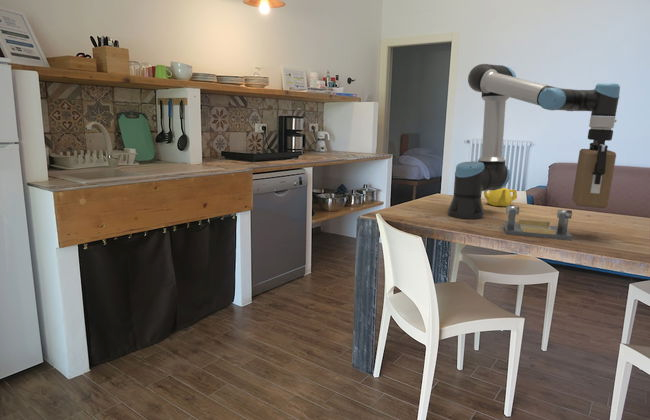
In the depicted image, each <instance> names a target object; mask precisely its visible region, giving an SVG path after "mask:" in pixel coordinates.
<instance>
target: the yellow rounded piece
mask: <svg viewBox="0 0 650 420" xmlns="http://www.w3.org/2000/svg"><path fill="white" fill-rule="evenodd" d="M511 193H512V194H511ZM483 196H484V198H485V199H486V201H487V204H489V206H493V207H506V206H507V205H509V206H511V205H512V202H513V201H515V200H516V199H518V195H517V189H516V188H514V189H509V188H507V187H503V188H501V189H497V190H489V192H488V190H486V191H483Z"/></svg>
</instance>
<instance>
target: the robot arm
mask: <svg viewBox="0 0 650 420" xmlns="http://www.w3.org/2000/svg"><path fill="white" fill-rule="evenodd" d="M467 83H468V85H469V87H470V89H471V90H473V91H475V92H478V93H481V99H482V100H483V102H484V109H483V110H484V112H483V128H482V131H483V132H482V145H481V156H480V157H479V158H478V159H477V161H476V160H475V161H472V160H471V161H463V162H460V163H458V164H456V165H455V166H456V167H455V172H454V183H453V196H452V200H451V202H450V204H449V206H448V208H447V215H448V216H451V217H454V218H457V219H466V220H475V219H476V220H479V219H483V218H484V216H485V209H484V208H483V207H484V206H483V203H482V192H484V191H486V190H487V191H490V190H497V189H501V188H505V187H506V186H507V184H508V183H509V181H510V179H511V172H510V169H509V168H508V166H507V165H506V159H505V158H504V157H503V149H504V147H503V146H504V134H505V133H504V131H505V119H506V117H505V115H506V114H505V113H506V104H507V103H506V102H507V101H508V99H510V98H511V99H515V100H519V101H522V102H524V103H525V102H526V103H528V104H533V105H536V106H539V107H541V108H542V109H544V110H547V111H565V112H591V114H590V119H589V125H588V127H589V129H588V132H587V140H590V141H591V140H592V142H589V148H588V149H591V150H594V151H598V155H597V163H595V169H594V172H593V173H592V175H593V179H592V185H591V191H590V193H598V194H599V193H600V187H601V181H602V175H603V174H605V165H606V153H607V150H608V147H609V146H608V145H607V144H606V142H607V141H608V142H609V141H612V140H613V136H614V131H613V129H614V127H615V123H617V121H618V120H617V119H616V116H617V115H616V114H617V109H618V104H619V99H620V91H621V86H620V85H619V84H618V83H610V82H607V83H603V82H602V83H597V84H596V85H595V87H594V89H573V88H572V89H571V88H563V87H562V88H561V87H555V86H552V85H548V84H547V85H546V84H543V83H540V82H536V81H531V80H527V79H523V78H519V77H517V75H516V72H515V71H514V70H513V69H512V68H511V67H509V66H505V65H500V64H498V65H497V64H491V63H481V64H478V65H476V66H474V67H472V69H471V70H470V71H469V73H468V75H467Z"/></svg>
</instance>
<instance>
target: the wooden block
mask: <svg viewBox="0 0 650 420" xmlns="http://www.w3.org/2000/svg"><path fill="white" fill-rule="evenodd" d="M578 153H579V154H578V158H577V159H578V160H577V165H576V173H575V178H574V184H573V192H572V198H571V200H572V202H573V203H574V204H575V205H576V206H578V207H584V208H585V207H587V208H598V209H607V207H608V205H609V200H610V192H611V186H612V181H613V177H614V176H613V175H614V170H615V165H616V158H617V153H616V152H615V151H612V150H610V149H607V153H606V165H605V174H603V175H602V181H601V187H600V193H599V194H598V193H590V191H591V185H592V179H593V175H592V173H593V172H594V169H595V163H597V155H598V151H594V150H591V149H589V148H580V150H579V152H578Z"/></svg>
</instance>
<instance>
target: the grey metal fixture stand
mask: <svg viewBox="0 0 650 420" xmlns="http://www.w3.org/2000/svg"><path fill="white" fill-rule="evenodd" d="M572 211H573V210H571V209H562V208H561V209H559V208H558V209H557V211H556V212H557V213H556V217H557V219H558V222H557V225H556V226H555V225H550V221H544V220H533V219H522V218H520V219H518V222H516V216H517V215H519V214H520V206H518V205H510V206H509V205H507V206H505V214H507V215H508V217H507V221H504V222H503V228H504V232H505V235H509V234H511V236H520V235H523V236H522V237H530V236H532V237H534V238H543V239H552V240H562V239H563V240H564V241H572V240H573V238H572V237H573V235H572V234H571V233H570V232H569V231H568V225H569V220H571V219H572V216H573V212H572Z"/></svg>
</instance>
